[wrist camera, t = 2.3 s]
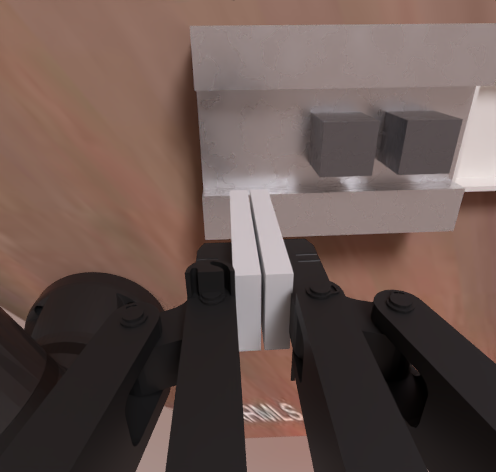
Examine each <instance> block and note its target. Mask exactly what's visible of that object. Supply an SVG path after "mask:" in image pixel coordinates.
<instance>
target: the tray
mask: <svg viewBox="0 0 496 472" xmlns="http://www.w3.org/2000/svg"><path fill="white" fill-rule="evenodd" d="M452 181H454V182H455V183H457V184H459V185H460V186H462V187H464V188H465V191H464V192H474V191H496V79H495V83H494V86H476V89H475V93H474V97H473V101H472V105H471V109H470V112H469V116H468V120H467V124H466V128H465V132H464V136H463V140H462V144H461V147H460V151H459V155H458V159H457V163H456V167H455V171H454V175H453V179H452Z"/></svg>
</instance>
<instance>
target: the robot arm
mask: <svg viewBox="0 0 496 472" xmlns="http://www.w3.org/2000/svg"><path fill="white" fill-rule="evenodd" d="M230 217H231V242H228V243H204V244H203V245H202V246H201V247H200V248H199V250H198V251H197V258H196V263H193V264H192V265H191V266H189V267H188V268H187V270H186V272H185V279H186V289H187V301H186V302H185V303H184V304H182V305H180V306H178V307H176V308H173V309H170V310H167V311H164V310H163V308H162V306H161V305H160V303H159V302H158V301H157V299H156V298H155V297H154V296H153V295H152V294H151V293H149V292H148V291H147V290H146V289H144V288H143V287H141V286H140V285H138V284H136V283H135V282H133V281H130V280H128V279H126V278H123V277H120V276H116V275H112V274H107V273H97V272H88V273H79V274H74V275H70V276H67V277H64V278H62V279H60V280H58V281H56V282H54V283H53V284H51V285H50V286H49V287H47V288H46V289H45V290H44V291H43V293H42V294H41V295H40V297H39V298H38V299H37V301H36V302H35V303H34V305H33V306H32V308H31V310H30V312H29V314H28V316H27V319H26V323H25V328H24V329H23V328H22V327H21V326H19V325H18V324H17V323H16V322H15V321H14V320H13V319H12V318H11V317H10V316H9V315H8V314H7V313H6V312H5V311H4V310H3V309H2V308H1V307H0V472H135V471H136V469H137V467H138V465H139V462H140V460H141V458H142V455H143V453H144V451H145V448H146V446H147V444H148V441H149V439H150V437H151V434H152V432H153V430H154V428H155V425H156V423H157V421H158V418H159V416H160V413H161V411H162V409H163V407H164V404H165V402H166V400H167V397H168V395H169V393H170V388H171V387H172V386H175V385H176V392H175V400H174V408H173V416H172V425H171V432H170V440H169V448H168V455H167V463H166V471H165V472H247V466H246V451H245V435H244V419H243V404H242V388H241V372H240V357H239V351H256V350H261V327H262V334H263V341H264V349H265V350H276V349H289V348H290V339H291V343H292V347H293V352H292V368H291V381H295V380H296V384H297V389H298V394H299V399H300V404H301V409H302V414H303V419H304V424H305V429H306V434H307V438H308V443H309V448H310V453H311V458H312V462H313V468H314V472H428V471H429V472H496V364H495V363H494V362H493V361H492V360H491V359H489V358H488V357H487V356H486V355H485V354H484V353H482V352H481V351H480V350H479V349H478V348H477V347H475V346H474V345H473V344H472V343H471V342H470V341H468V340H467V339H466V338H465V337H464V336H463V335H461V334H460V333H459V332H458V331H457V330H456V329H454V328H453V327H452V326H451V325H450V324H448V323H447V322H446V321H445V320H444V319H443V318H441V317H440V316H439V315H438V314H437V313H436V312H434V311H433V310H432V309H431V308H430V307H429V306H427V305H426V304H425V303H424V302H423V301H422V300H420V299H419V298H417V297H416V296H414V295H412V294H409V293H407V292H404V291H399V290H384V291H382V292H379V293H377V295H376V296H375V297H374V301H373V302H367V301H361V300H356V299H352V298H349V297H346V296H345V294H344V292H343V290H342V289H341V288H340V287H339V286H338V285H336V284H335V283H333V282H331V281H329V279H328V276H327V274H326V272H325V270H324V268H323V265H322V263H321V261H320V259H319V256H318V255H317V252H316V250H315V248H314V245H312V244H311V243H310V242H308V241H307V240H306V239H283V237H282V234H281V231H280V228H279V224H278V221H277V218H276V215H275V211H274V208H273V205H272V202H271V198H270V195H269V192H268V189H266V190H250V204H249V197H248V191H247V190H233V191H230ZM412 365H413V366H414V367H415V368H414V367H413V366H412ZM427 469H428V470H427Z"/></svg>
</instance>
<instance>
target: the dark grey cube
mask: <svg viewBox="0 0 496 472" xmlns="http://www.w3.org/2000/svg"><path fill="white" fill-rule="evenodd" d="M462 121H463V119H460V118H457V117H454V116H450V115H447V114H444V113H440V112H437V111H391V112H386V113H385V120H384V126H383V133H382V139H381V145H380V152H379V158H378V161H379V162H381V163H382V164H384V165H385V166H386V167H388V168H389V169H390V170H392V171H393V172H394V173H396V174H397V175H418V174H449V173H450V169H451V165H452V161H453V157H454V153H455V149H456V145H457V141H458V137H459V133H460V129H461V125H462Z"/></svg>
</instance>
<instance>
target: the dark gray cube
mask: <svg viewBox="0 0 496 472" xmlns="http://www.w3.org/2000/svg"><path fill="white" fill-rule="evenodd" d="M379 126H380V121H379V120H377V119H375V118H373V117H371V116H368V115H366V114H364V113H362V112H342V113H312V119H311V134H310V149H309V164H310V165H311V166H312V168H313V169H314V170H315V172H316V173H317V175H318V176H319V177H349V176H372V173H373V166H374V159H375V153H376V146H377V139H378V133H379Z"/></svg>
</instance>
